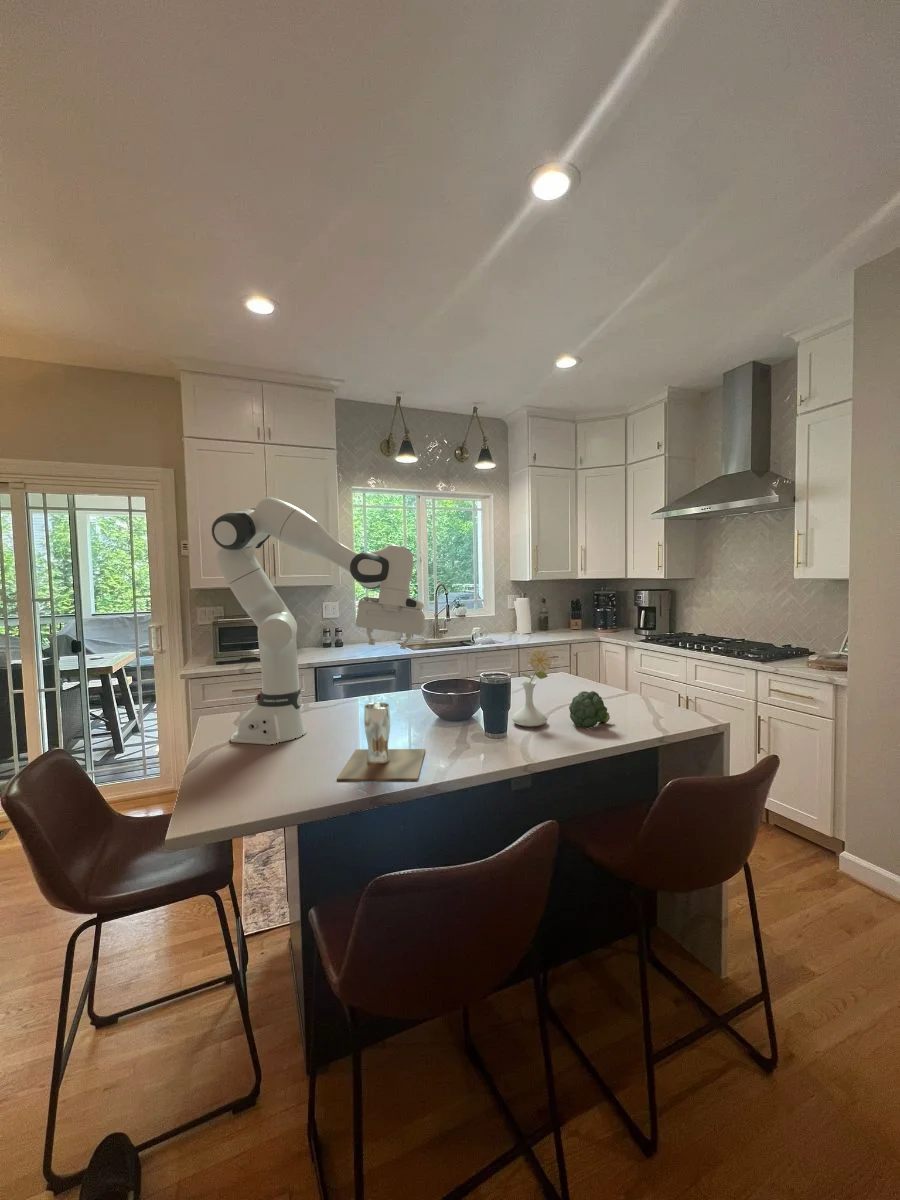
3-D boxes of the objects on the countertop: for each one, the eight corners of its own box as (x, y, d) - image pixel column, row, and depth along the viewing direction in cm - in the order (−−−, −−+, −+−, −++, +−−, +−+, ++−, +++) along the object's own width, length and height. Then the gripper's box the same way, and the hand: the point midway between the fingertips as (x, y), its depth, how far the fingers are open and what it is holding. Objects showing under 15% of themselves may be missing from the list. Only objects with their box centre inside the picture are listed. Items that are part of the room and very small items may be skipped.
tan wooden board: (336, 781, 122) (336, 778, 122) (355, 751, 142) (355, 749, 141) (417, 780, 121) (417, 778, 121) (425, 751, 141) (425, 749, 141)
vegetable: (627, 722, 156) (597, 708, 149) (597, 744, 161) (567, 732, 154) (611, 692, 165) (582, 678, 158) (583, 714, 171) (554, 702, 163)
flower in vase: (513, 729, 158) (512, 652, 156) (510, 719, 169) (509, 646, 168) (554, 729, 157) (554, 651, 156) (549, 718, 169) (548, 645, 167)
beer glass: (362, 765, 129) (360, 709, 128) (368, 755, 136) (366, 702, 135) (388, 765, 129) (387, 709, 128) (393, 755, 136) (392, 702, 135)
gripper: (356, 594, 144) (349, 642, 143) (425, 603, 142) (419, 651, 141) (362, 596, 150) (355, 642, 149) (428, 605, 148) (422, 651, 147)
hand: (387, 646), depth 145 cm, fingers open, 8 cm apart
